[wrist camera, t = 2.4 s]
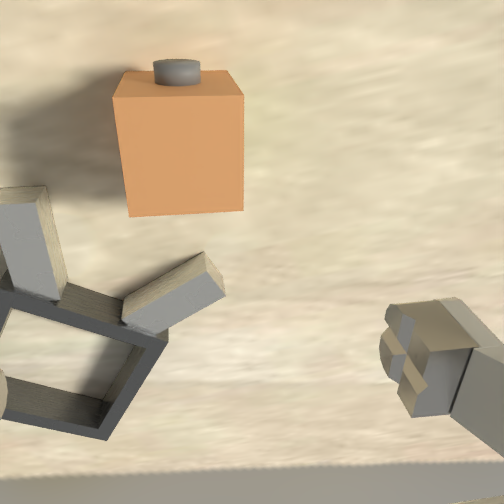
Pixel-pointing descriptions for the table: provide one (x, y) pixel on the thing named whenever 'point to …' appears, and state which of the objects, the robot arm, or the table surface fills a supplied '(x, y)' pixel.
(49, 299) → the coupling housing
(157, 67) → the block
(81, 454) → the table surface
